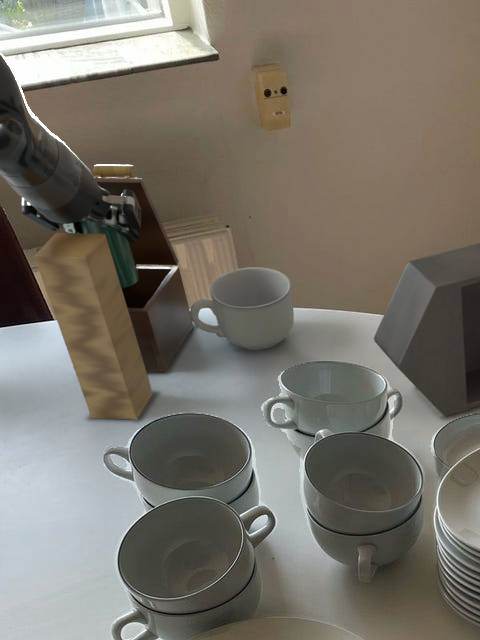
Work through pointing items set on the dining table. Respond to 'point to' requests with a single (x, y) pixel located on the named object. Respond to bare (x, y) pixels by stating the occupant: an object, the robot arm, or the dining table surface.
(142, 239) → the lid
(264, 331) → the teacup
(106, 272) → the stand
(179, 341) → the chest
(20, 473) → the dining table surface
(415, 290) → the planter
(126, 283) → the green cylinder
